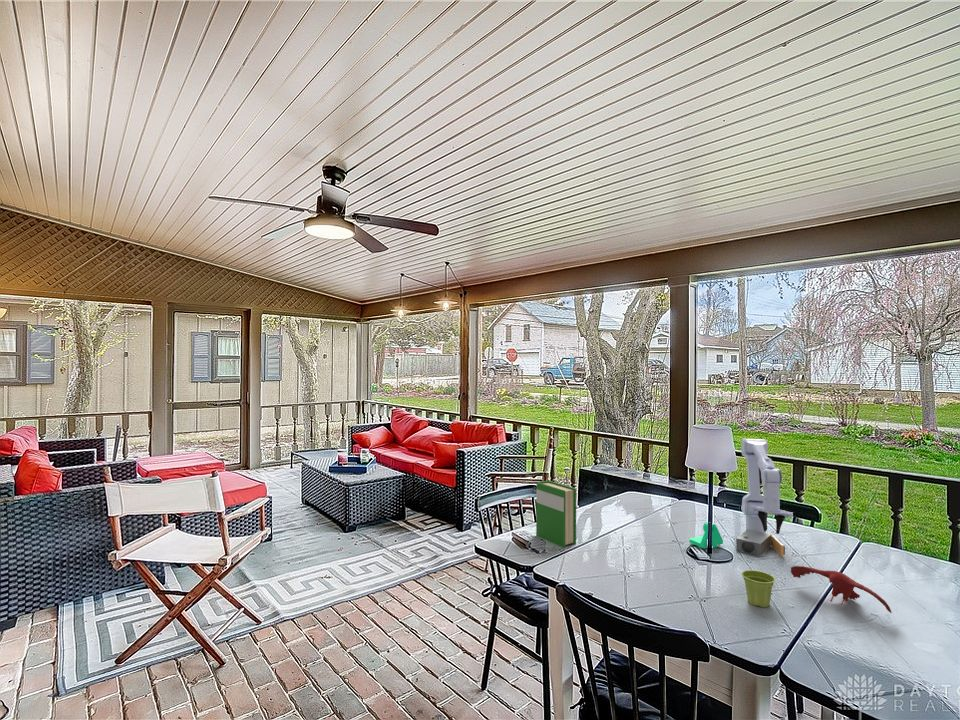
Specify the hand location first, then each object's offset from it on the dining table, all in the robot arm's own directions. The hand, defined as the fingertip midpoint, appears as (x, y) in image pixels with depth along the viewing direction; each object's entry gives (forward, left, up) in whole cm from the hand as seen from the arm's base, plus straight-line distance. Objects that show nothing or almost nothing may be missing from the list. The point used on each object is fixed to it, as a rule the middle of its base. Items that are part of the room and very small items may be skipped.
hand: (771, 531), depth 195 cm
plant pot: (+49, +8, -10) cm, 50 cm away
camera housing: (-3, -7, -9) cm, 12 cm away
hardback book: (+49, -72, -10) cm, 88 cm away
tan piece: (-5, +1, -9) cm, 10 cm away
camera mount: (+8, -23, -10) cm, 26 cm away
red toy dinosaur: (+30, +27, -10) cm, 41 cm away
